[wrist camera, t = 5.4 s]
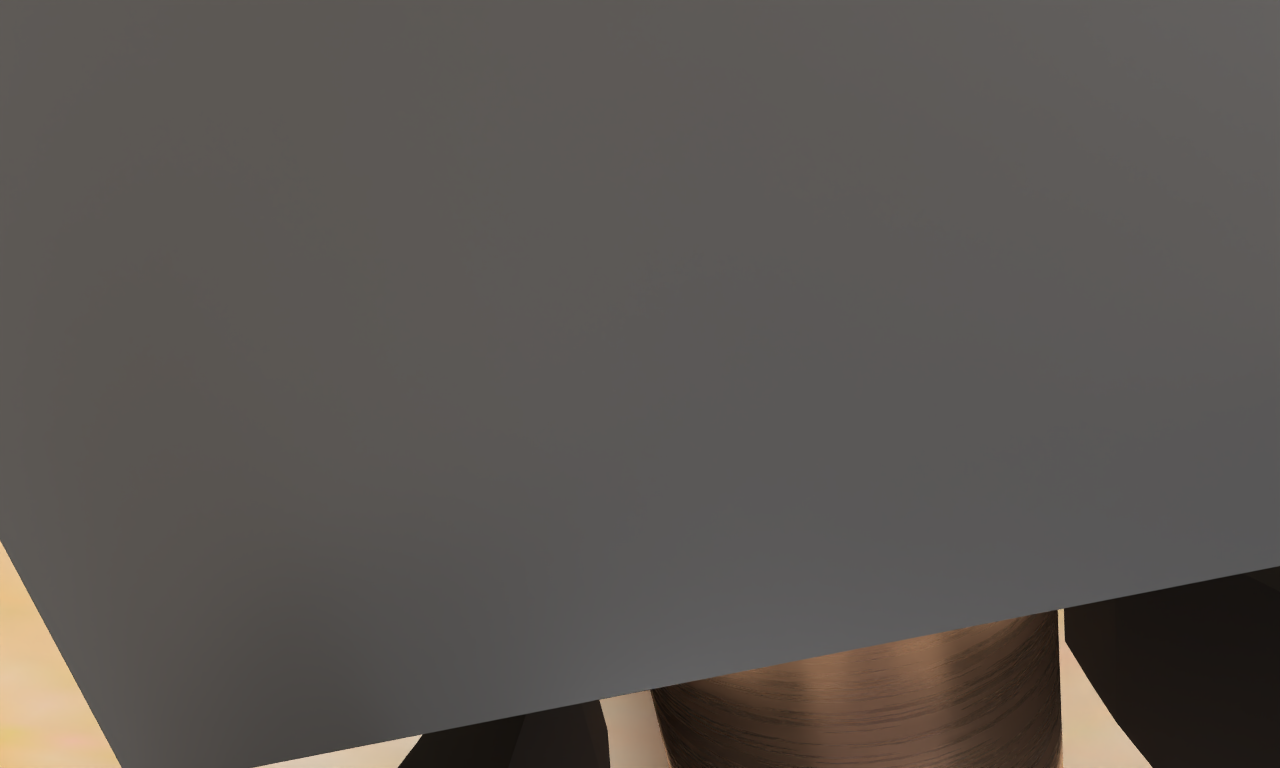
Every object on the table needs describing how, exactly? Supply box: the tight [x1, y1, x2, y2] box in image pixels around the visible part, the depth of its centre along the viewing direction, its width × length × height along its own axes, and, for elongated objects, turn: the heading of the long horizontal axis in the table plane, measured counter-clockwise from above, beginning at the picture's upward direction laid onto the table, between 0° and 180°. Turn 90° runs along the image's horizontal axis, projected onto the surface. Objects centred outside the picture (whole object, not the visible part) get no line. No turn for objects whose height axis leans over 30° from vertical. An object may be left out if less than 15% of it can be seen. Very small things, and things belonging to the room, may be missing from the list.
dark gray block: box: [0, 0, 1280, 768], centre depth 6 cm, size 9×5×6 cm, turn 101°
